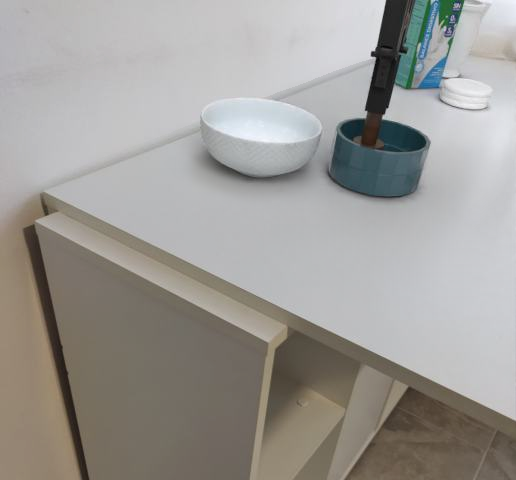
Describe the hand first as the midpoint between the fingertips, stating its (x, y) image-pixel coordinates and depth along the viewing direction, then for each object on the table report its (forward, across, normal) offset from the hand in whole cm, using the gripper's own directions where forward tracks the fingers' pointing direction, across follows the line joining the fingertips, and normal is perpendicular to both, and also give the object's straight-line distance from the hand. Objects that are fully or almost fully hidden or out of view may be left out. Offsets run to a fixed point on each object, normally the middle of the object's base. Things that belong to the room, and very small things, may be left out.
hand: (376, 108), depth 72 cm
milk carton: (+10, -58, 0) cm, 59 cm away
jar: (+10, -71, +6) cm, 72 cm away
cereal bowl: (+10, +4, -15) cm, 18 cm away
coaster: (+10, -50, +12) cm, 52 cm away
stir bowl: (+10, -1, +2) cm, 10 cm away
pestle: (+8, 0, 0) cm, 8 cm away
